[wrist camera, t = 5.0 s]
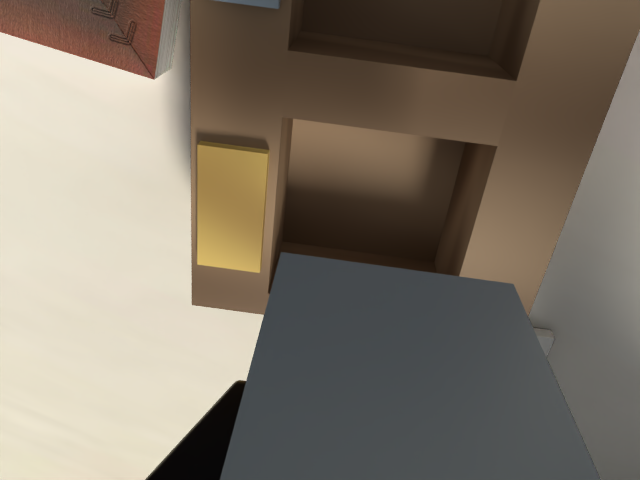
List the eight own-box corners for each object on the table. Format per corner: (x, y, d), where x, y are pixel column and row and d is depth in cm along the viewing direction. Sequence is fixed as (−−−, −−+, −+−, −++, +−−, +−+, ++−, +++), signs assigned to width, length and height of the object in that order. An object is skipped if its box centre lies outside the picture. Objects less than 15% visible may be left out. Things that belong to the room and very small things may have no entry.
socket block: (488, 277, 20) (518, 355, 16) (221, 241, 20) (189, 310, 16) (645, -204, 13) (762, -265, 9) (235, -257, 13) (183, -340, 9)
